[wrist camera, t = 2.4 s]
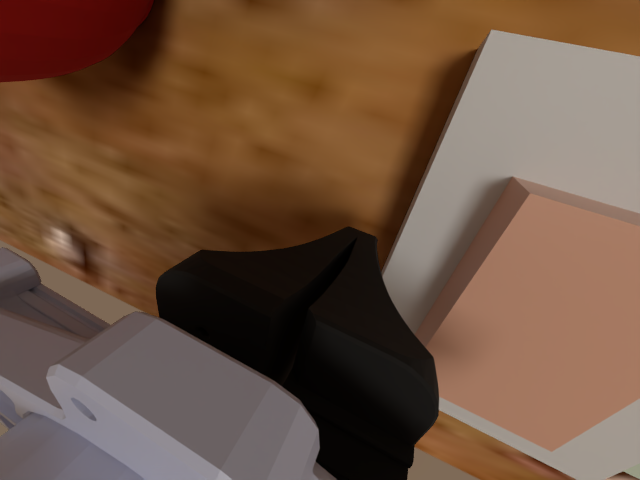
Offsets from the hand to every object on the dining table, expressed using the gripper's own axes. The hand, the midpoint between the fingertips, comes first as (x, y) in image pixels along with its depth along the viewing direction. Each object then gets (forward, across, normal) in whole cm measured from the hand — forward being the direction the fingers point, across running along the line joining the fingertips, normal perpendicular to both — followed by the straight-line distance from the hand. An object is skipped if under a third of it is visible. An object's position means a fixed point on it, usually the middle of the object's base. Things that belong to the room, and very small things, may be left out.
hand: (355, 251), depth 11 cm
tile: (+1, -7, 0) cm, 7 cm away
